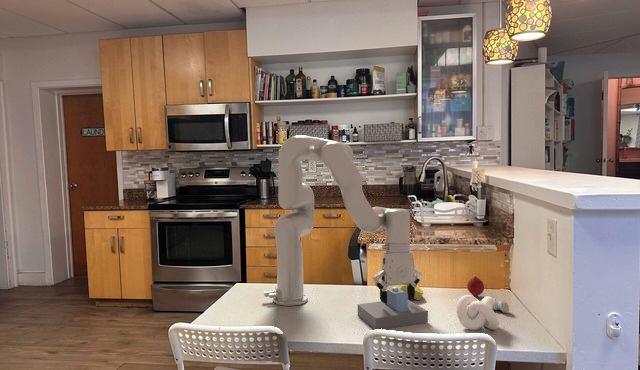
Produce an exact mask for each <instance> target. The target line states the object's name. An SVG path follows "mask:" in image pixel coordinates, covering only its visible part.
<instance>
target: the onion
mask: <svg viewBox="0 0 640 370" xmlns="http://www.w3.org/2000/svg"><path fill="white" fill-rule="evenodd" d="M466 288H467V290H468V292H469V293H470V295H471V296H473V297H474V296H476V297H478V296H480V295H481V294H482V293H484V291H485V285H484V283H483V281H482V280H481V278H478V276H477V275H476V274H474V275H473V277H472V278H471V279H469V281H468V282H467V285H466Z"/></svg>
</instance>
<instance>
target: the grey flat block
mask: <svg viewBox="0 0 640 370" xmlns="http://www.w3.org/2000/svg"><path fill="white" fill-rule="evenodd" d="M408 308H409V309H410V310H411V311H407V312H400V313H399V312H398V311H397V312H396V311H394V310H393V309H391V308H390V307H388V306H387V304H384V303H383V302H381V300H380V301H374V302H373V301H372V302H365V303H359V304H357V316H358V317H359V318H360V319H362V320H363V321H364V322H365V323H366V324H367V325H369V326H370V327H371V329H374V330H375V329H381V328H382V330H388V329H393V328H395V329H396V328H402V327H407V326H406V325H408V326H414V325H413V324H415V325H420V324H419V323H421V324H426V323H425V322H429V311H428V310H426V308H423V307H422V306H420V305H418V304H416V303H415V302H413V300H411V299H408ZM401 326H402V327H401Z"/></svg>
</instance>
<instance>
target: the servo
mask: <svg viewBox="0 0 640 370" xmlns="http://www.w3.org/2000/svg"><path fill="white" fill-rule="evenodd" d="M408 300H409V298H408V293H406V292H404V291H402V290H400V289H399V288H398V287H392V289H387V306H388V307H390V308H391V309H393V310H394V311H396V312H397V311H398V312H399V313H400V312H407V311H411V310H410V309H409V308H408Z"/></svg>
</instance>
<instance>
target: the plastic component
mask: <svg viewBox="0 0 640 370" xmlns="http://www.w3.org/2000/svg"><path fill="white" fill-rule="evenodd" d="M408 285H409V284H402V285H392V286H391V285H389V286H388V287H387V289H392V287H398V288H399V289H400V290H402V291H404V292H406V293H407V286H408ZM387 289H386V291H387ZM423 294H424V292H423V290H422V289H421V287H420V286H419V285H418V284H417V286H416V288H415V296H414V300H416V301H420V300H421V299H422V296H423ZM419 299H420V300H419Z"/></svg>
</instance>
